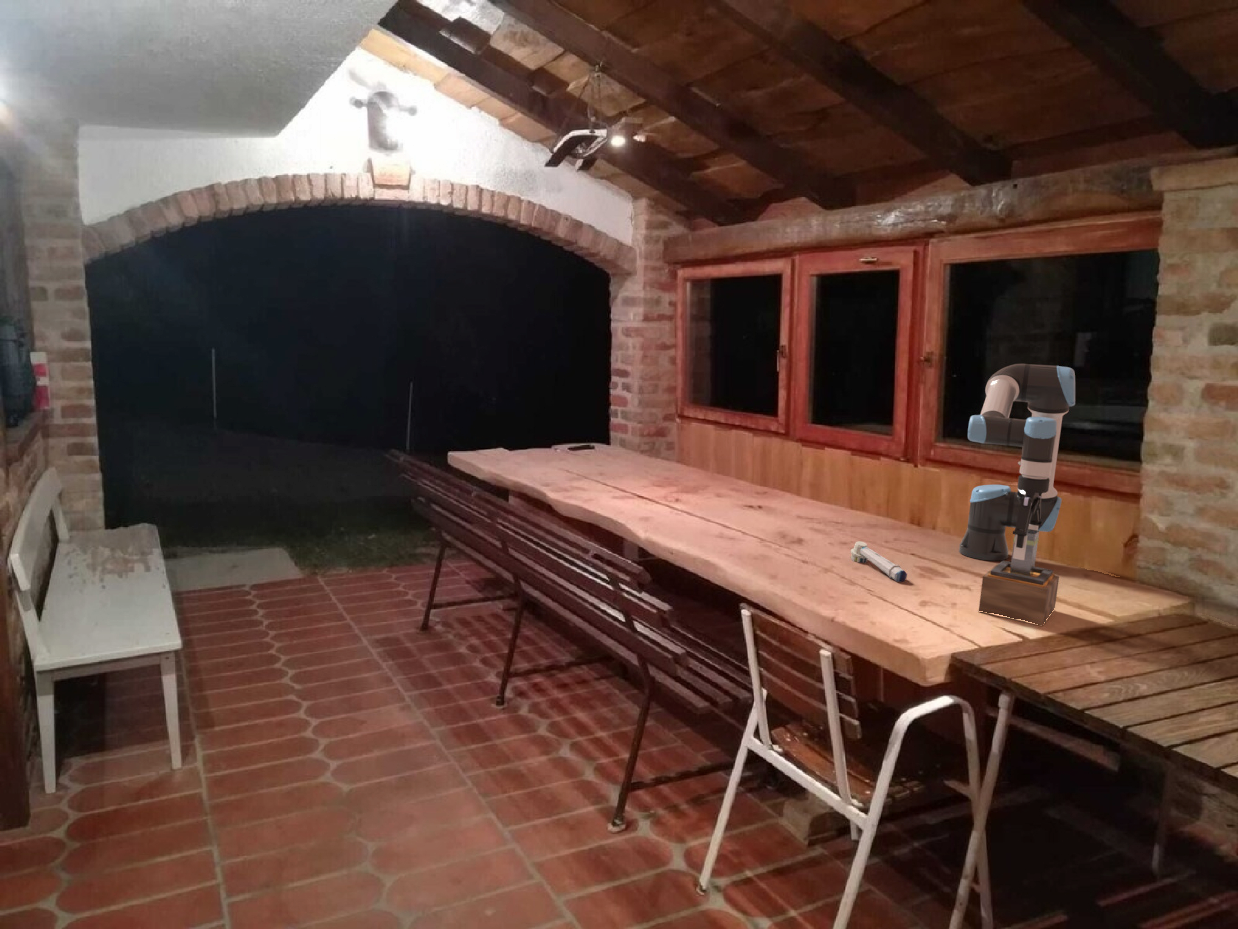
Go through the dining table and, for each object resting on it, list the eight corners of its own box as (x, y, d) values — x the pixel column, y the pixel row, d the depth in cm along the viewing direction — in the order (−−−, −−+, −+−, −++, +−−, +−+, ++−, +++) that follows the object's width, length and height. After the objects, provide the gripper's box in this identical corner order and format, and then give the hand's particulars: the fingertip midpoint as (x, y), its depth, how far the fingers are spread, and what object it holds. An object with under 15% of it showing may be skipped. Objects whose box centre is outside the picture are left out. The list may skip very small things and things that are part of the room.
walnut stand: (993, 597, 258) (998, 558, 256) (1054, 610, 249) (1060, 570, 247) (978, 612, 246) (983, 571, 243) (1042, 626, 237) (1048, 583, 234)
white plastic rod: (895, 570, 267) (849, 537, 290) (891, 591, 269) (846, 556, 292) (910, 569, 269) (864, 536, 291) (906, 590, 271) (860, 555, 293)
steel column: (1013, 569, 249) (1019, 527, 247) (1034, 573, 246) (1039, 530, 244) (1009, 574, 245) (1014, 530, 243) (1029, 578, 242) (1035, 534, 240)
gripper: (1029, 467, 253) (1020, 541, 257) (1008, 481, 233) (998, 560, 237) (1058, 471, 248) (1048, 546, 253) (1039, 485, 228) (1029, 566, 232)
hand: (1024, 553), depth 245 cm, fingers open, 13 cm apart
